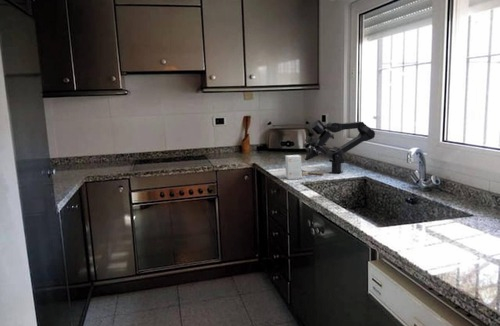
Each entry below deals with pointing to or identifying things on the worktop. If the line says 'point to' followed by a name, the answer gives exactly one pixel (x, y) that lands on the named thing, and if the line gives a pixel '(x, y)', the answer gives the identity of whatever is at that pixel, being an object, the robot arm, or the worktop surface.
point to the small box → (293, 167)
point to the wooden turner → (311, 173)
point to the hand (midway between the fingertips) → (305, 160)
